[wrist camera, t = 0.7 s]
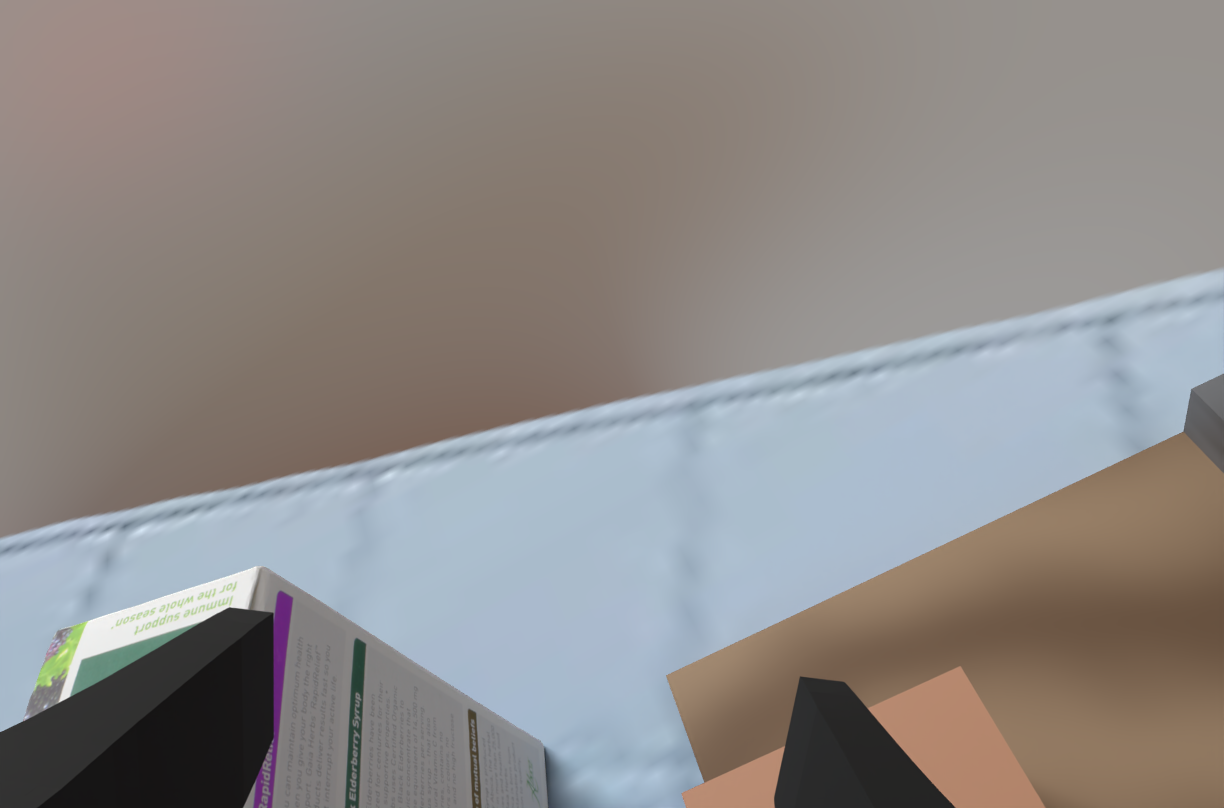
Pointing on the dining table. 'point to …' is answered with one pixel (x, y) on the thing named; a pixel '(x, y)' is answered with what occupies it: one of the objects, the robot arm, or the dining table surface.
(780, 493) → the dining table surface
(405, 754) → the syrup box
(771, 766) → the tea tin
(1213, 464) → the brown wooden pallet
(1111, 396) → the dining table surface
